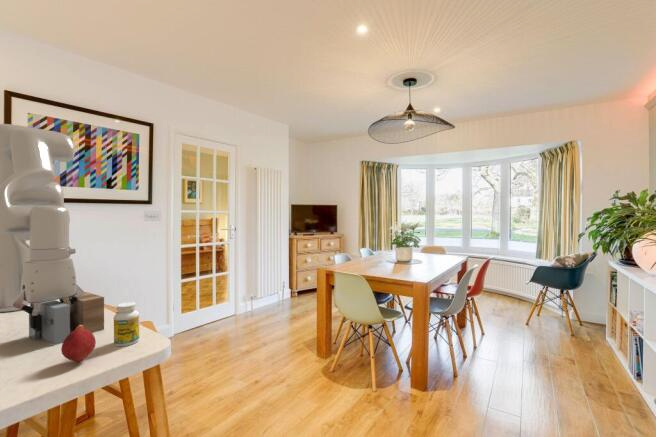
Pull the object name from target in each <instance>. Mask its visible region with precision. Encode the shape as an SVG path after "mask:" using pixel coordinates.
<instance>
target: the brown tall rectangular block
mask: <svg viewBox="0 0 656 437" xmlns="http://www.w3.org/2000/svg"><path fill="white" fill-rule="evenodd" d="M79 325H83V329H85V330H87V331H89V332H91V333H92V334H94V333H96V332H100V331H103V330H105V296H102V295H100V294H99V295H98V294H94V293H92V292H87V291H84V294H83V295H82V296H81V297H79V298H78V299H77V300H76V301H75V302H74V303H73V304H72V305H71V308H70V332H72V331H74V330H75V329H76V328H77V327H78V326H79Z"/></svg>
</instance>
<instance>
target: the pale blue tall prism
mask: <svg viewBox="0 0 656 437" xmlns="http://www.w3.org/2000/svg"><path fill="white" fill-rule="evenodd" d="M39 314H40V315H41V330H40V339H43V340H44V341H47V342H48V343H50V344H52V345H54V346H57V345H60V344H63V342H64V340H65V338H66V337H67V336H68V335H69V334H70V333H71V330H70V305H67V304H64V303H62V302H60V300H59V301H58V300H52V301H46V302H42V303H41V306H40V310H39Z"/></svg>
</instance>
